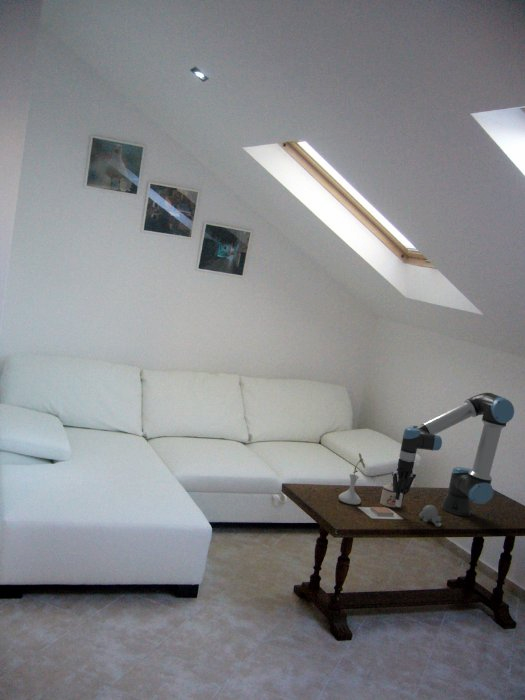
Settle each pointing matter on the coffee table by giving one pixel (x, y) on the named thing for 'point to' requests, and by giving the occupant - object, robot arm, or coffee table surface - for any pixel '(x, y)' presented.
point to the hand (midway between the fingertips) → (397, 506)
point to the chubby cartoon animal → (431, 515)
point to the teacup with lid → (388, 496)
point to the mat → (372, 515)
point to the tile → (381, 511)
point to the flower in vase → (352, 488)
